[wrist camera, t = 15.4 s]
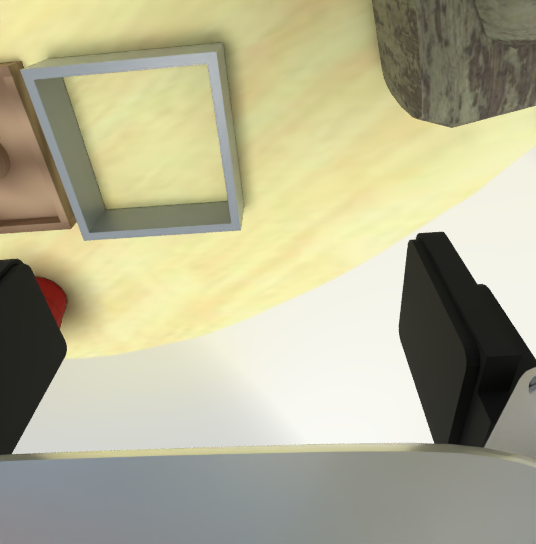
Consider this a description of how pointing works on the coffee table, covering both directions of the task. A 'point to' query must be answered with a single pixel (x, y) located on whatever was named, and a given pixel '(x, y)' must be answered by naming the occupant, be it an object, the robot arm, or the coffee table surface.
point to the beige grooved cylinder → (4, 162)
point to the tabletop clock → (458, 57)
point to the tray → (27, 164)
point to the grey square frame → (76, 165)
